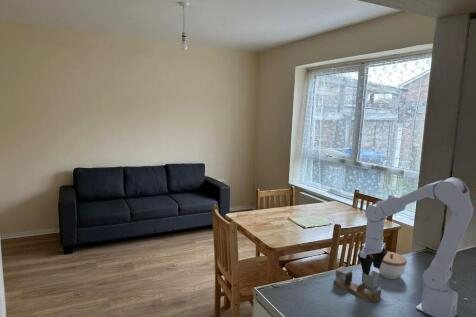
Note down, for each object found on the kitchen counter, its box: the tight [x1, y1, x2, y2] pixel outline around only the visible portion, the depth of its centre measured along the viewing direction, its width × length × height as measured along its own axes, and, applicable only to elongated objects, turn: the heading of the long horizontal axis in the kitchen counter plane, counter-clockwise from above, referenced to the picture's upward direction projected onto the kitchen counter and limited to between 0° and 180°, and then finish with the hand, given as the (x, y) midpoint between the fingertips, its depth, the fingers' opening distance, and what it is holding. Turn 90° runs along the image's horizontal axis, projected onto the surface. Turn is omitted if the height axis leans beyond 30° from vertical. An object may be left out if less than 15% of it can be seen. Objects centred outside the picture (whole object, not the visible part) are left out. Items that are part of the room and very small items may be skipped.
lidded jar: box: [377, 251, 408, 280], centre depth 127 cm, size 11×11×9 cm
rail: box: [333, 266, 382, 304], centre depth 115 cm, size 16×4×6 cm, turn 38°
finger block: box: [361, 269, 380, 290], centre depth 120 cm, size 4×4×5 cm
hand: (371, 270), depth 119 cm, fingers open, 7 cm apart
